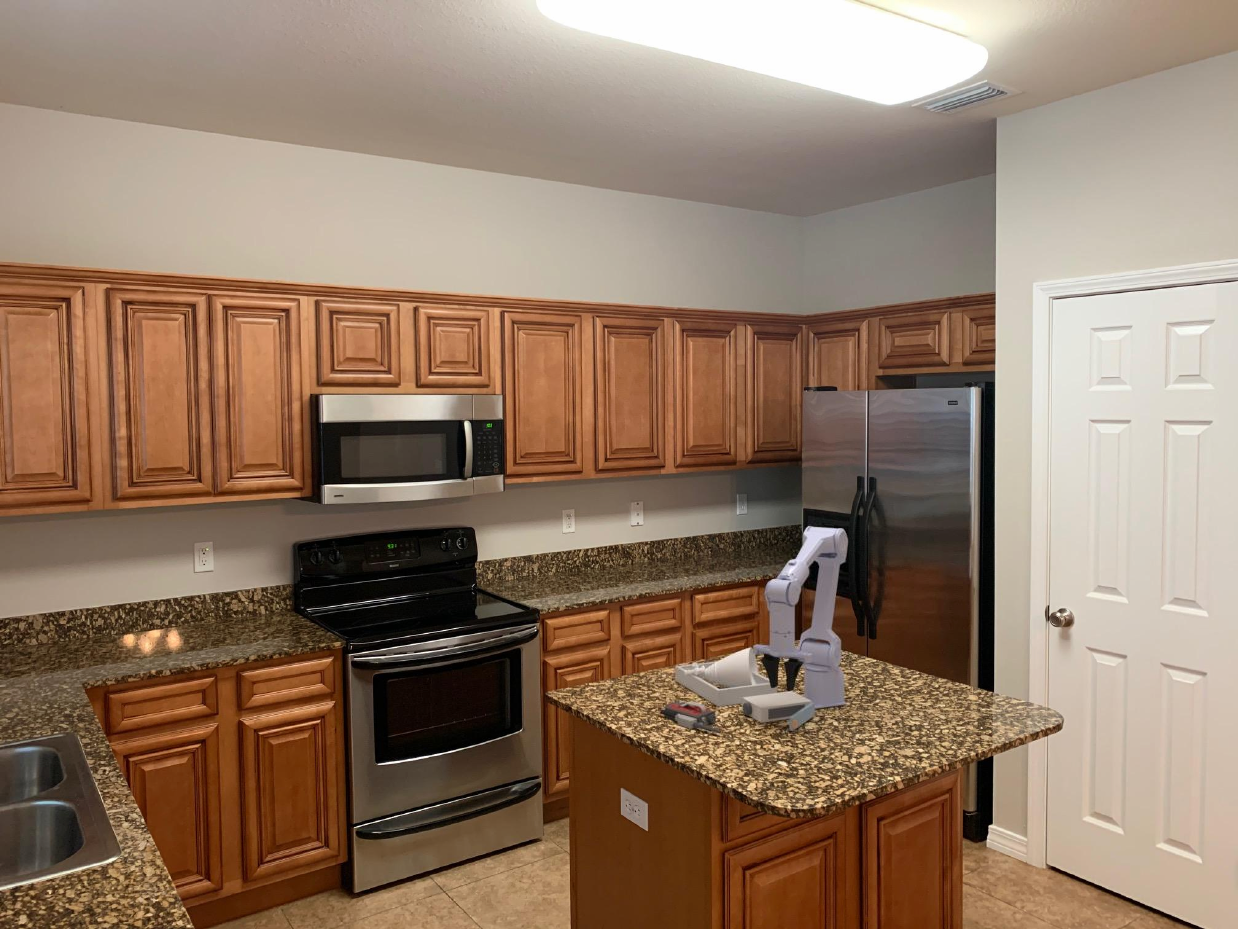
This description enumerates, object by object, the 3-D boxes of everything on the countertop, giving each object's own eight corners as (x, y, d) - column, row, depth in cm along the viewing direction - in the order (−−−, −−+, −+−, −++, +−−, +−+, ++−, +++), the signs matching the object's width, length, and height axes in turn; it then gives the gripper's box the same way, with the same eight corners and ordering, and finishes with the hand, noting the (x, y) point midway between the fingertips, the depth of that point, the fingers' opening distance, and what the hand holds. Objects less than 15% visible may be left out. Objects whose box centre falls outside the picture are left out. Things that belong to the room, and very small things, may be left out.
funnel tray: (730, 674, 261) (730, 660, 261) (777, 698, 238) (777, 683, 238) (675, 680, 255) (675, 666, 255) (717, 706, 232) (717, 690, 232)
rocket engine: (681, 646, 248) (748, 639, 243) (693, 667, 256) (758, 661, 251) (680, 685, 240) (748, 679, 235) (692, 706, 248) (758, 700, 243)
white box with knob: (791, 704, 233) (791, 691, 233) (811, 715, 224) (812, 701, 224) (738, 712, 227) (738, 698, 227) (757, 723, 219) (757, 708, 219)
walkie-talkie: (653, 719, 224) (717, 739, 209) (653, 701, 224) (717, 719, 209) (678, 711, 230) (742, 730, 215) (678, 693, 230) (742, 711, 215)
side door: (811, 714, 224) (811, 702, 223) (817, 716, 223) (817, 703, 223) (789, 730, 213) (789, 717, 212) (796, 731, 212) (796, 718, 212)
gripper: (746, 629, 219) (746, 687, 219) (801, 638, 209) (801, 698, 210) (761, 624, 224) (761, 680, 225) (816, 632, 215) (816, 691, 215)
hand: (782, 688), depth 218 cm, fingers open, 4 cm apart
